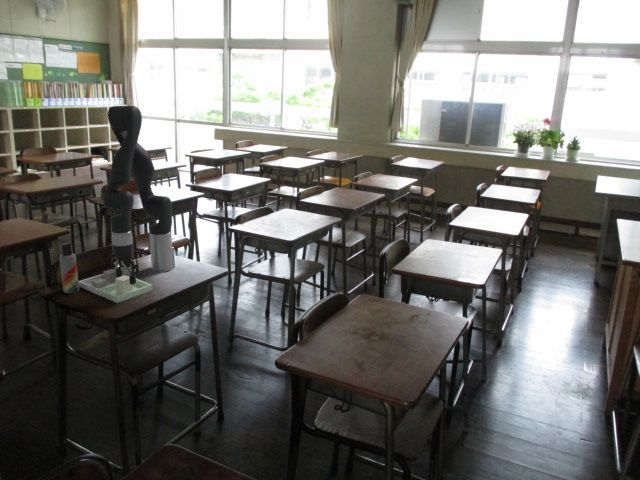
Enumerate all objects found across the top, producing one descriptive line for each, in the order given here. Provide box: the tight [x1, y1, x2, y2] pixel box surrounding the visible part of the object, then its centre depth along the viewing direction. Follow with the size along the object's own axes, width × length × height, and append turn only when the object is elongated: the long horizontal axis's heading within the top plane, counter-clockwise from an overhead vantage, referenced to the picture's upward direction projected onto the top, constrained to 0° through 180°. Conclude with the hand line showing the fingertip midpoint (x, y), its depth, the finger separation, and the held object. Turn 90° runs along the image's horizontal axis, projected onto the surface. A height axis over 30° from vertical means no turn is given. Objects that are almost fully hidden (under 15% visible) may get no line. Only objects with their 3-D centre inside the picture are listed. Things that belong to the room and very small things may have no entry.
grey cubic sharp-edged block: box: [102, 268, 117, 283], centre depth 213 cm, size 4×4×4 cm
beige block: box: [115, 275, 133, 294], centre depth 200 cm, size 4×4×6 cm
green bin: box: [98, 278, 154, 304], centre depth 201 cm, size 16×12×3 cm
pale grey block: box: [91, 278, 107, 289], centre depth 203 cm, size 4×4×4 cm
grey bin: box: [78, 273, 126, 296], centre depth 209 cm, size 16×14×2 cm
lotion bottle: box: [58, 241, 80, 294], centre depth 199 cm, size 6×6×20 cm
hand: (126, 281), depth 200 cm, fingers open, 8 cm apart
